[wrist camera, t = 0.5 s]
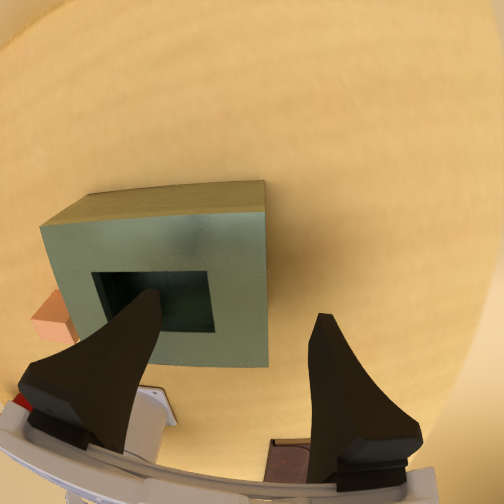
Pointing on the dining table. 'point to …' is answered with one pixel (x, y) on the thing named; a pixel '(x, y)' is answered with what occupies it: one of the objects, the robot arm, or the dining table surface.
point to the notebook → (288, 461)
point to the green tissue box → (170, 267)
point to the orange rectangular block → (55, 321)
